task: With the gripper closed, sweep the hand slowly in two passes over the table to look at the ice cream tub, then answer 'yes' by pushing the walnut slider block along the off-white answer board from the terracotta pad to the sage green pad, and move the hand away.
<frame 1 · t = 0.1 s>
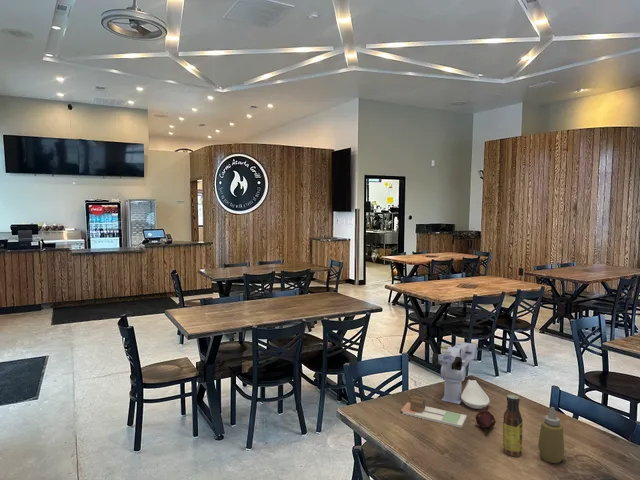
hand: (442, 365, 177), 22 cm above the table, tool horizontal, fingers open, 7 cm apart
squeeze bottle: (550, 459, 147), on the table
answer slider: (417, 404, 182), point 3 cm above the table, slide at 0.0 cm
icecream: (485, 428, 169), on the table
spoon rest: (473, 401, 194), on the table
sauce bottle: (512, 452, 152), on the table
answer board: (434, 415, 179), on the table
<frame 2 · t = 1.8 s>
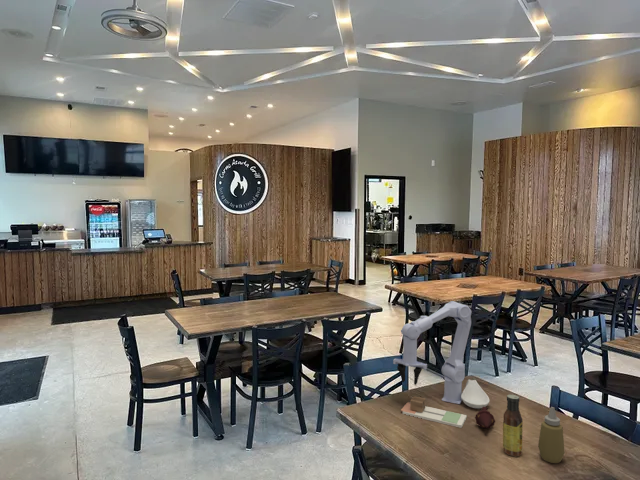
hand: (409, 382, 188), 10 cm above the table, tool pointing down, fingers open, 5 cm apart
nothing on the table moved.
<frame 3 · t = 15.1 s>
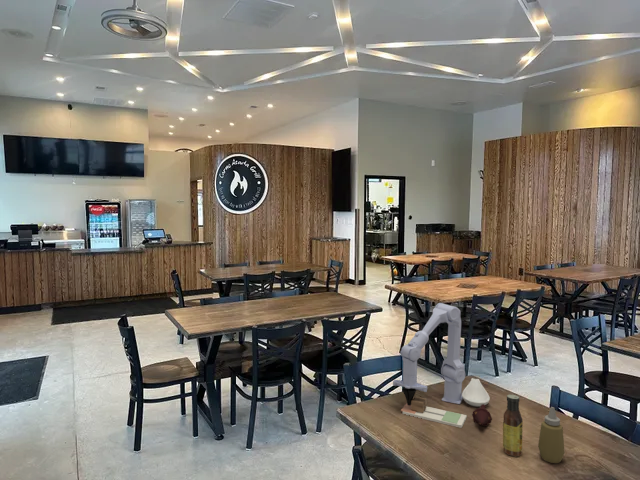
hand: (409, 404, 184), 2 cm above the table, tool pointing down, fingers closed
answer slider: (418, 404, 182), point 3 cm above the table, slide at 0.4 cm, touching gripper
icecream: (481, 425, 172), on the table
spoon rest: (474, 399, 196), on the table
everything else where it was.
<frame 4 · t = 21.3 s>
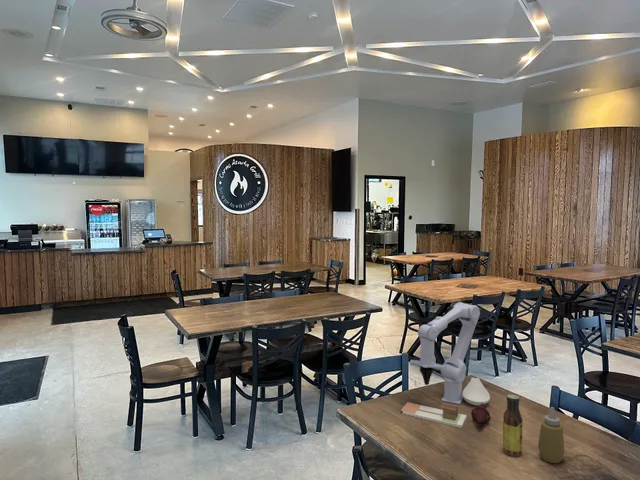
hand: (426, 384, 186), 10 cm above the table, tool pointing down, fingers closed
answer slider: (450, 411, 176), point 3 cm above the table, slide at 13.5 cm
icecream: (480, 423, 173), on the table
spoon rest: (475, 398, 197), on the table
everything else where it was.
at the end: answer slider slide at 13.5 cm; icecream moved 3.7 cm from its start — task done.
